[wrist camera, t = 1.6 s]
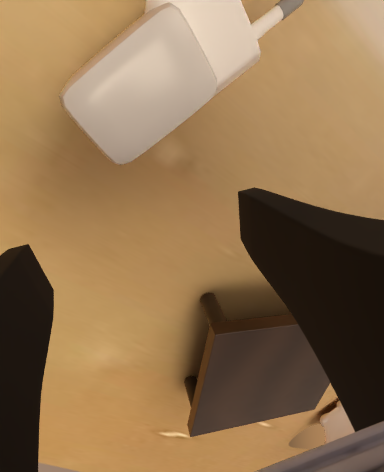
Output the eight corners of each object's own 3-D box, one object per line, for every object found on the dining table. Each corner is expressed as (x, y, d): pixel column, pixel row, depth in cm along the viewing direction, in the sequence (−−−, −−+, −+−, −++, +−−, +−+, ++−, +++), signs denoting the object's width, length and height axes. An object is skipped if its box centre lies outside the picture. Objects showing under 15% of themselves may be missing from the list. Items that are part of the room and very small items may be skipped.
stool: (332, 278, 30) (369, 315, 26) (290, 369, 37) (314, 409, 33) (196, 288, 26) (215, 335, 22) (178, 388, 33) (190, 437, 29)
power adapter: (234, -83, 14) (306, -148, 9) (275, 24, 17) (346, 16, 12) (54, 73, 15) (35, 87, 11) (118, 148, 18) (127, 187, 13)
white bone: (305, 420, 46) (340, 484, 39) (350, 387, 44) (396, 448, 37) (347, 434, 54) (382, 489, 47) (387, 406, 52) (430, 460, 45)
